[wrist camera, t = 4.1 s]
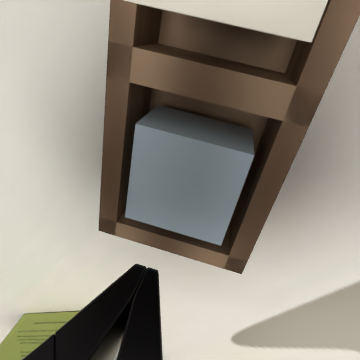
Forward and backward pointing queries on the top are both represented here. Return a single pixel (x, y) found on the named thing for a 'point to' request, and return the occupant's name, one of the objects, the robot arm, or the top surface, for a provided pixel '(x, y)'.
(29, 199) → the top surface
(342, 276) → the top surface
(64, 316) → the protein box
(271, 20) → the cream block
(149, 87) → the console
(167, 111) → the slate key
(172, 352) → the top surface
